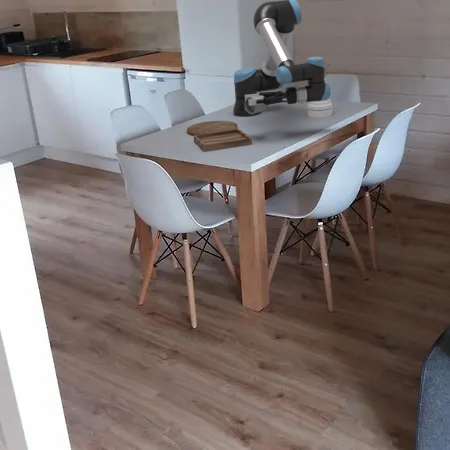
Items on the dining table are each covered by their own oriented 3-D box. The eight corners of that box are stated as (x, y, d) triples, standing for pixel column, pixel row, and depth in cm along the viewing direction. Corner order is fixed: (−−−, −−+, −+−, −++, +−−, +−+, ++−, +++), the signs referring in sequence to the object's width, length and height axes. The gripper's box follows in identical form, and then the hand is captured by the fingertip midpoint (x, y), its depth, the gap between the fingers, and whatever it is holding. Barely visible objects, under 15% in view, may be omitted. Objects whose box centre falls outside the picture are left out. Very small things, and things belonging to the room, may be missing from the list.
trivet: (176, 134, 310) (176, 130, 309) (210, 122, 327) (209, 118, 327) (214, 139, 295) (214, 135, 294) (247, 127, 312) (247, 123, 311)
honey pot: (333, 111, 327) (333, 76, 320) (331, 117, 315) (330, 80, 309) (308, 111, 330) (307, 77, 323) (305, 117, 319) (304, 81, 312)
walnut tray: (194, 141, 294) (193, 135, 293) (239, 134, 299) (238, 128, 298) (204, 151, 276) (203, 145, 275) (252, 144, 281) (251, 138, 280)
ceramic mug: (269, 111, 285) (268, 94, 282) (256, 115, 280) (255, 97, 278) (253, 109, 293) (252, 92, 290) (240, 112, 288) (239, 95, 285)
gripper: (301, 108, 276) (251, 113, 274) (290, 98, 296) (243, 103, 294) (301, 91, 273) (250, 96, 271) (290, 82, 293) (242, 87, 291)
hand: (246, 100), depth 282 cm, fingers closed on ceramic mug, 9 cm apart
